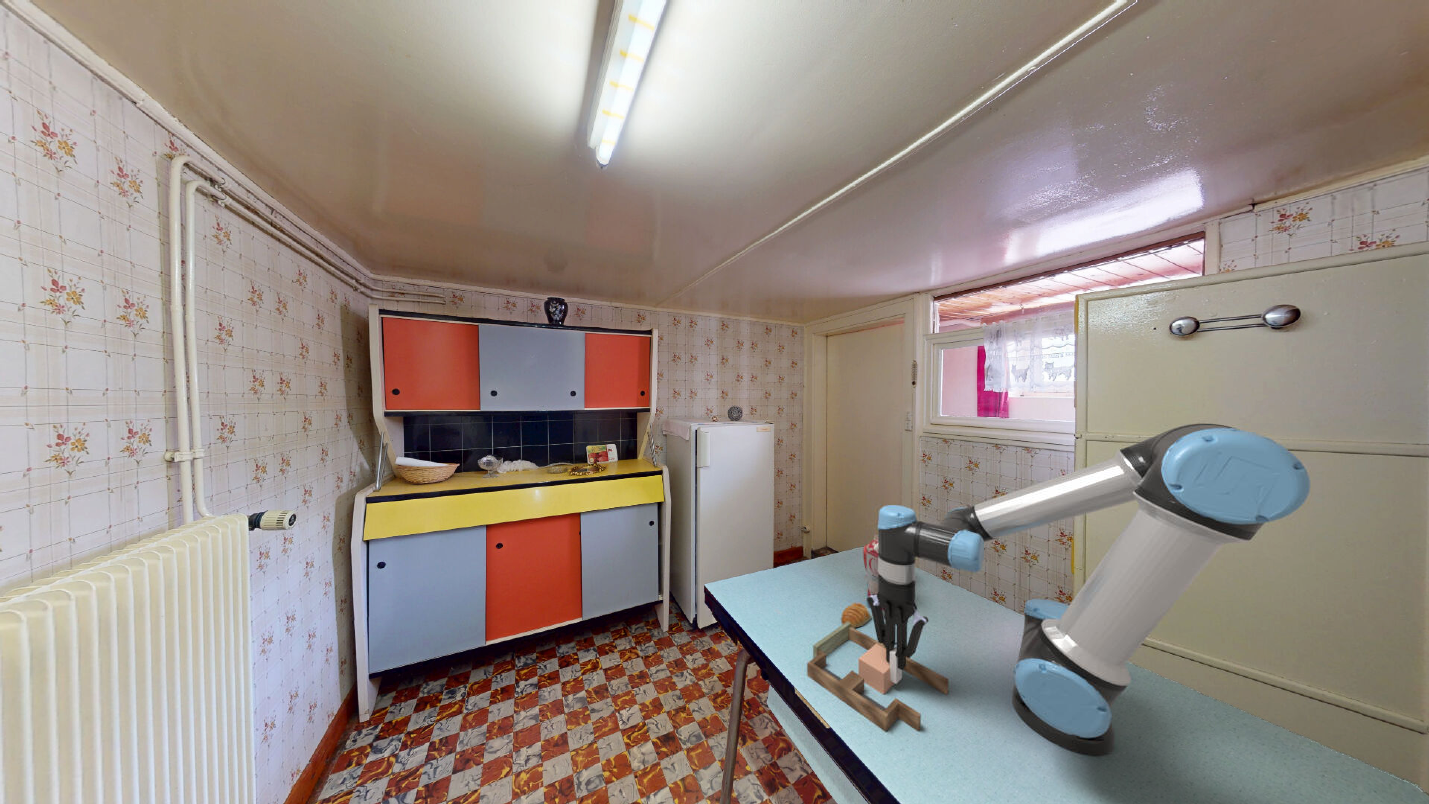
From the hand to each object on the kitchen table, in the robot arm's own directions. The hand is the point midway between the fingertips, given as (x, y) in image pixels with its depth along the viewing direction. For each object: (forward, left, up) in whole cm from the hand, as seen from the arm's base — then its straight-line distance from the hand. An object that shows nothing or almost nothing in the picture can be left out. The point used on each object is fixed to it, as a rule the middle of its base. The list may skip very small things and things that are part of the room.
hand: (895, 678), depth 86 cm
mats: (+5, +10, -2) cm, 11 cm away
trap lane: (+4, +2, -2) cm, 5 cm away
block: (+4, 0, -2) cm, 4 cm away
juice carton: (+17, -27, -2) cm, 32 cm away
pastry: (+19, -16, -2) cm, 25 cm away
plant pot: (+24, -41, -2) cm, 48 cm away
